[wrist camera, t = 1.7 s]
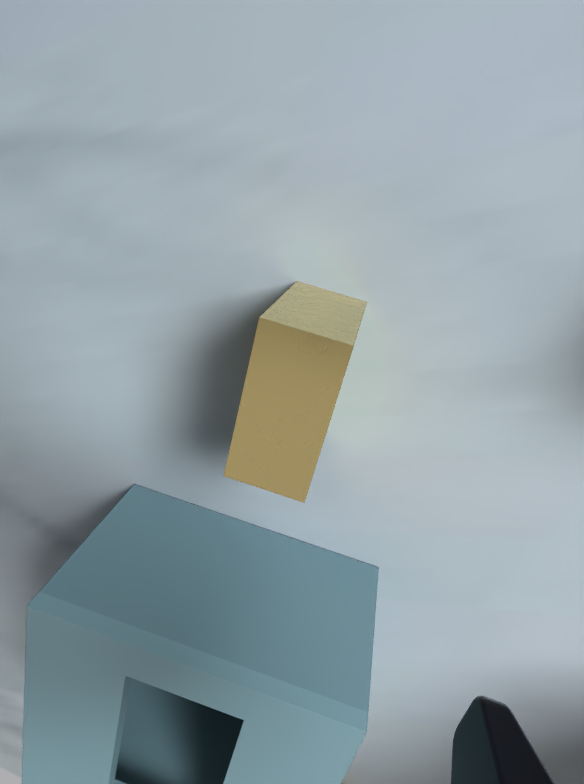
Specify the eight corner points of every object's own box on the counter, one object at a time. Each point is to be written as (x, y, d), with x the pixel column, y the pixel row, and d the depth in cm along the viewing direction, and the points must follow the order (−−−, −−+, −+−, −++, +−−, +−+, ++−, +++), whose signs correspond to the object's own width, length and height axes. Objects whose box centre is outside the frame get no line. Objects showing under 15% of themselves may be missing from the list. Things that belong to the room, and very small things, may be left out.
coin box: (378, 567, 21) (366, 731, 15) (316, 714, 26) (287, 891, 19) (134, 484, 22) (26, 605, 16) (113, 639, 27) (21, 783, 20)
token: (367, 301, 17) (353, 345, 13) (327, 427, 19) (304, 502, 15) (296, 281, 18) (259, 316, 13) (265, 407, 20) (223, 476, 15)
